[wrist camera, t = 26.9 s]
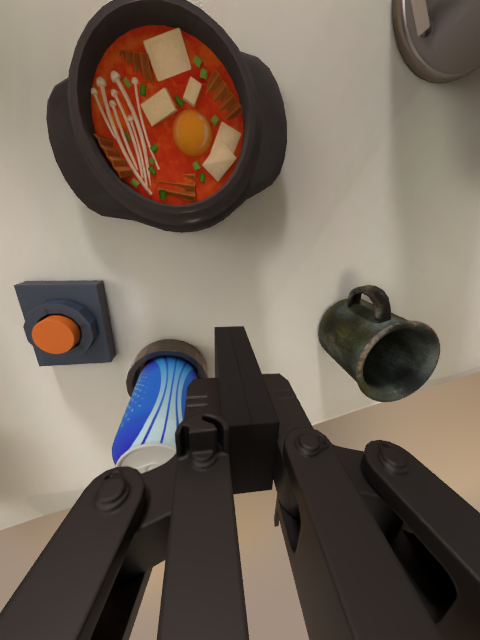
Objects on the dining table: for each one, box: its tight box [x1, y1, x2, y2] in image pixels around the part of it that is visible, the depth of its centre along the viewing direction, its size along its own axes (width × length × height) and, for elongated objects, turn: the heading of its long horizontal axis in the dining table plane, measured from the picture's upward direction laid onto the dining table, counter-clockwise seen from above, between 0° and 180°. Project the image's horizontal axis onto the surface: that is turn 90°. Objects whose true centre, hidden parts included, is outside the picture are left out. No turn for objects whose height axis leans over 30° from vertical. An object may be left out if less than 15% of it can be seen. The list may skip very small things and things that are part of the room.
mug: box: [318, 285, 440, 402], centre depth 34 cm, size 11×15×12 cm
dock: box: [126, 340, 207, 397], centre depth 37 cm, size 11×11×4 cm
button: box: [32, 315, 80, 354], centre depth 29 cm, size 4×4×2 cm
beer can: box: [112, 355, 198, 473], centre depth 30 cm, size 8×8×16 cm
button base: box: [14, 281, 116, 366], centre depth 32 cm, size 11×9×4 cm
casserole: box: [47, 0, 287, 233], centre depth 24 cm, size 25×19×8 cm
